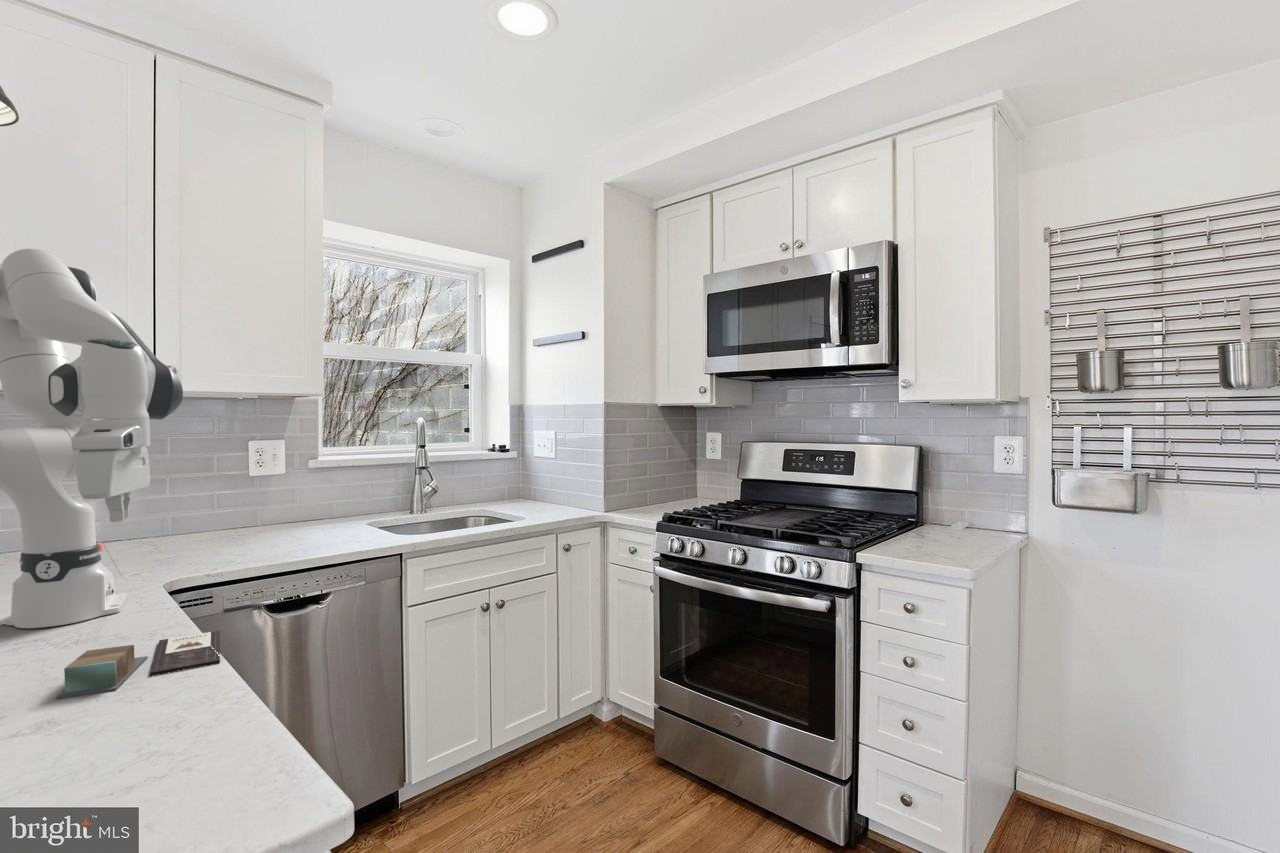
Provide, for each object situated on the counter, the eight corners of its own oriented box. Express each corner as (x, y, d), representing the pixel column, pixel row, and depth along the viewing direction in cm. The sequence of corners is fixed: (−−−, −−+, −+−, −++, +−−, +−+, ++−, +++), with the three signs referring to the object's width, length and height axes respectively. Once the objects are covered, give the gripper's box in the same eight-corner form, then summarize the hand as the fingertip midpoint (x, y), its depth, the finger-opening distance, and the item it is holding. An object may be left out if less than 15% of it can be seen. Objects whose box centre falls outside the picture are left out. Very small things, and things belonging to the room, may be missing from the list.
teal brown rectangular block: (87, 650, 102) (64, 668, 94) (134, 644, 104) (115, 661, 96) (88, 672, 102) (65, 692, 94) (134, 666, 104) (115, 685, 97)
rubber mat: (95, 664, 106) (95, 662, 106) (147, 657, 108) (147, 656, 108) (56, 698, 93) (56, 696, 93) (116, 690, 95) (116, 688, 95)
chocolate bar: (150, 672, 101) (159, 640, 116) (150, 678, 101) (159, 645, 116) (219, 660, 106) (219, 630, 121) (219, 665, 106) (219, 635, 121)
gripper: (116, 436, 116) (119, 513, 116) (65, 439, 97) (68, 531, 97) (159, 435, 118) (162, 511, 119) (117, 438, 99) (120, 528, 100)
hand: (119, 520), depth 108 cm, fingers closed
